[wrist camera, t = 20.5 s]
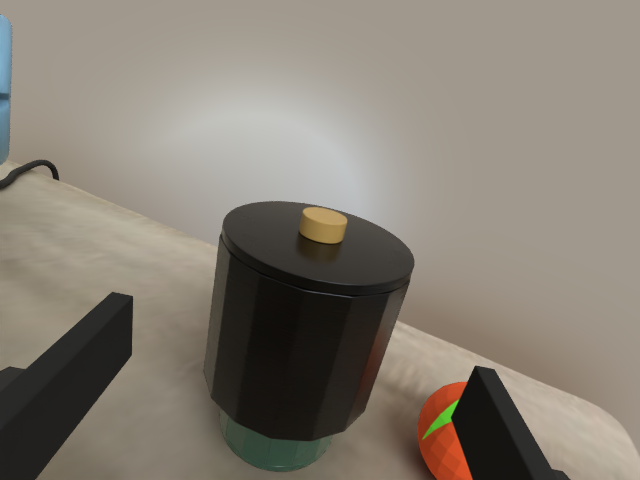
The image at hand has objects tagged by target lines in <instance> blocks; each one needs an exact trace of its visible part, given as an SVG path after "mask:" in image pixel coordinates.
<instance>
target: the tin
mask: <svg viewBox="0 0 640 480" xmlns="http://www.w3.org/2000/svg"><path fill="white" fill-rule="evenodd" d="M220 425H221V430H222V433H223V436H224V438H225V440H226V442H227V444H228V445H229V447H230V448H231V449H232V450H233V452H234V453H236V454H237V455H238V456H239V457H240V458H241V459H243V460H244V461H245V462H247V463H249V464H251V465H253V466H255V467H258V468H261V469H264V470H268V471H276V472H286V471H293V470H297V469H300V468H303V467H305V466H308V465H310V464H311V463H313V462H314V461H316V460H317V459H318V458H319V457H320V456H321V455H322V454H323V453H324V452H325V451H326V449H327V447H328V446H329V444H330V442H331V439H332V436H333V435H331V436H327V437H324V438H321V439H318V440H315V441H312V442H311V441H310V442H305V441H291V440H278V439H270V438H268V437H265V436H263V435H261V434H259V433H256V432H254V431H252V430H250V429H248V428H245V427H243V426H241V425H239V424H237V423H235V422H234V421H233V420H232V419H231V418H230V417H229V416H228V415H227V414H226V413H225V412H224V411H223V410H222V409H221V411H220Z"/></svg>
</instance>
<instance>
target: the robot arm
mask: <svg viewBox="0 0 640 480" xmlns="http://www.w3.org/2000/svg"><path fill="white" fill-rule="evenodd" d="M11 63H12V25H11V23H10V22H9V20H8V19H7V18H6V17H4V16H3V15H1V14H0V165H2V164H3V163H4V162H5V161H6V159H7V157H8V154H9V141H10V97H11V68H12V67H11V66H12V64H11ZM40 165H45V166H47V167H48V168H50V170H51V172H52V176H53V179H55V180H58V181H59V175H58V171H57V169H56V167H55V166H54V165H53V164H52V163H51V162H49V161H47V160H36V161H33V162H31V163H28V164H26V165H23V166H21V167H19V168H16V169H14V170H12V171H11V172H10V173H9V174H8V176H7V177H6V178H4V179H3V180H1V181H0V188H3V187H5V186H7V185H9V184H10V183H12V182H13V180H14V179H15V178H16V176H18V175H19V174H21V173H23V172H26V171H28V170H30V169H32V168H34V167H37V166H40ZM132 321H133V296H130V295H125V294H120V293H115V292H112V293H110V294H109V295H108V296H107V297H106V298H105V299H104V300H103V301H102V302H100V303H99V304H98V305H97V306H96V307H95V308H94V309H93V310H91V311H90V312H89V313H88V314H87V315H86V316H85V317H84V318H83V319H81V320H80V321H79V322H78V323H77V324H76V325H75V326H74V327H72V328H71V329H70V330H69V331H68V332H67V333H66V334H65V335H63V336H62V337H61V338H60V339H59V340H58V341H57V342H56V343H55V344H53V345H52V346H51V347H50V348H49V349H48V350H47V351H46V352H44V353H43V354H42V355H41V356H40V357H39V358H38V359H37V360H36V361H34V362H33V363H32V364H31V365H30V366H29V367H28V368H27V369H20V368H15V367H8V368H6V369H4V370H2V371H0V480H35V479H36V478H37V477H38V475H39V474H40V473H41V472H42V470H43V469H44V468H45V466H46V465H47V464H48V463H49V461H50V460H51V459H52V457H53V456H54V455H55V454H56V452H57V451H58V450H59V448H60V447H61V446H62V444H63V443H64V442H65V441H66V439H67V438H68V437H69V435H70V434H71V433H72V432H73V430H74V429H75V428H76V426H77V425H78V424H79V423H80V421H81V420H82V419H83V417H84V416H85V415H86V414H87V412H88V411H89V410H90V408H91V407H92V406H93V404H94V403H95V402H96V401H97V399H98V398H99V397H100V395H101V394H102V393H103V392H104V390H105V389H106V388H107V386H108V385H109V384H110V383H111V381H112V380H113V379H114V377H115V376H116V375H117V374H118V372H119V371H120V370H121V368H122V367H123V366H124V364H125V363H126V362H127V361H128V359H129V358H130V357H131V355H132ZM451 420H452V423H453V426H454V428H455V431H456V434H457V437H458V440H459V442H460V445H461V448H462V451H463V454H464V456H465V459H466V462H467V465H468V468H469V471H470V473H471V476H472V479H473V480H570V479H569V478H568V477H567V475H566V474H565V473H564V472H563V471H559V470H553V469H551V467H550V465H549V463H548V462H547V460H546V458H545V456H544V455H543V453H542V451H541V449H540V448H539V446H538V444H537V442H536V441H535V439H534V437H533V435H532V434H531V432H530V430H529V429H528V427H527V425H526V423H525V422H524V420H523V418H522V416H521V415H520V413H519V411H518V409H517V408H516V406H515V404H514V402H513V401H512V399H511V397H510V395H509V394H508V392H507V390H506V389H505V387H504V385H503V383H502V382H501V380H500V378H499V376H498V375H497V373H496V371H495V369H490V368H485V367H480V366H475V367H474V369H473V371H472V374H471V376H470V378H469V380H468V382H467V384H466V386H465V388H464V390H463V393H462V395H461V397H460V399H459V401H458V403H457V405H456V407H455V409H454V411H453V414H452V416H451Z"/></svg>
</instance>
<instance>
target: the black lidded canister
mask: <svg viewBox="0 0 640 480" xmlns="http://www.w3.org/2000/svg"><path fill="white" fill-rule="evenodd" d="M413 268H414V258H413V254H412V253H411V251H410V249H409V248H408V247H407V246H406V245H405V244H404V243H403V242H402V241H401V240H400V239H398V238H397V237H396V236H394V235H393V234H391V233H390V232H388V231H386V230H385V229H383V228H381V227H379V226H377V225H375V224H373V223H371V222H369V221H367V220H364V219H362V218H359V217H357V216H354V215H351V214H348V213H345V212H341V211H338V210H334V209H330V208H326V207H322V206H317V205H310V204H305V203H295V202H282V201H274V202H273V201H270V202H257V203H251V204H247V205H243V206H240V207H237V208H235V209H234V210H232V211H231V212H229V213H228V214H227V215H226V217H225V218H224V221H223V226H222V232H221V234H220V238H219V246H218V254H217V263H216V271H215V280H214V288H213V297H212V305H211V313H210V322H209V330H208V339H207V347H206V355H205V364H204V374H205V378H206V381H207V385H208V388H209V392H210V395H211V398H212V399H213V400H214V401H215V402H216V403H217V404H218V406H219V407H220V408H221V409H222V410H223V411H224V412H225V413H226V414H227V415H228V416H229V417H230V418H231V419H232V420H233V421H234V422H235V423H237V424H239V425H241V426H243V427H245V428H248V429H250V430H252V431H254V432H256V433H259V434H261V435H263V436H265V437H268V438H270V439H278V440H291V441H305V442H310V441H311V442H312V441H315V440H318V439H321V438H324V437H327V436H331V435H334V434H337V433H340V432H343V431H345V430H346V429H347V428H348V427H349V426H350V425H351V424H352V423H353V422H354V421H355V420H356V419H357V418H358V417H359V416H360V415H361V414H362V413H363V412H364V411H365V408H366V405H367V402H368V400H369V397H370V394H371V391H372V388H373V385H374V382H375V380H376V377H377V374H378V371H379V368H380V365H381V363H382V360H383V357H384V354H385V351H386V348H387V345H388V343H389V340H390V337H391V334H392V331H393V328H394V326H395V323H396V320H397V317H398V314H399V311H400V308H401V306H402V303H403V300H404V297H405V294H406V291H407V289H408V286H409V283H410V278H411V273H412V270H413Z"/></svg>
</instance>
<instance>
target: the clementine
mask: <svg viewBox="0 0 640 480" xmlns="http://www.w3.org/2000/svg"><path fill="white" fill-rule="evenodd" d="M466 384H467V382H457V383H453V384H449V385H446V386H443V387H442V388H440V389H439V390H437V391H436V392H435V393H433V394H432V395H431V396H430V397H429V398H428V400H427V401H426V403H425V404H424V406H423V408H422V411H421V413H420V417H419V421H418V441H419V446H420V450H421V454H422V456H423V458H424V460H425V462H426V464H427V466H428V468H429V469H430V471H431V472H432V474H433V475H434V476H435V478H436V479H437V480H473V479H472V476H471V473H470V471H469V468H468V465H467V462H466V459H465V456H464V454H463V451H462V448H461V445H460V442H459V440H458V437H457V434H456V431H455V428H454V426H453V423H452V420H451V416H452V414H453V411H454V409H455V407H456V405H457V403H458V401H459V399H460V397H461V395H462V393H463V390H464V388H465V386H466Z"/></svg>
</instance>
